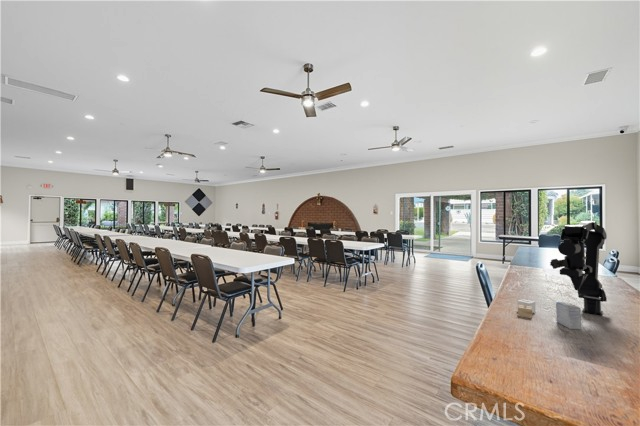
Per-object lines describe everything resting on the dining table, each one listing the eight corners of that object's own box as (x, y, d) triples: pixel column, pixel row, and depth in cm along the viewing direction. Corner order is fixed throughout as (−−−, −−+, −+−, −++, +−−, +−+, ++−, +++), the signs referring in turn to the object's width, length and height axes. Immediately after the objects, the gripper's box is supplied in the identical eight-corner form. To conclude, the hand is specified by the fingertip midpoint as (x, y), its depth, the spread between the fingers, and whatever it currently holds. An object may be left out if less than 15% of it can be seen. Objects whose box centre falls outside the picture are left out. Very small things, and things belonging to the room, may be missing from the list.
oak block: (519, 313, 129) (518, 304, 130) (532, 315, 126) (532, 306, 126) (518, 316, 126) (518, 307, 126) (532, 318, 122) (531, 309, 123)
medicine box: (582, 330, 109) (581, 307, 109) (568, 329, 110) (568, 307, 110) (568, 322, 117) (567, 302, 117) (556, 322, 118) (555, 301, 118)
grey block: (523, 309, 135) (523, 299, 135) (535, 312, 130) (535, 301, 130) (517, 311, 132) (517, 300, 133) (529, 314, 128) (529, 303, 128)
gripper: (560, 251, 132) (561, 283, 131) (544, 253, 122) (545, 289, 121) (591, 253, 123) (593, 288, 122) (577, 256, 113) (579, 294, 112)
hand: (576, 290), depth 120 cm, fingers closed
